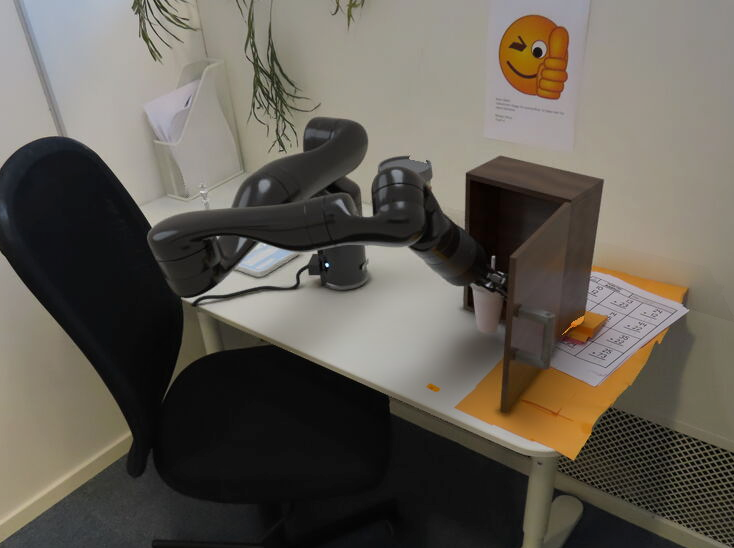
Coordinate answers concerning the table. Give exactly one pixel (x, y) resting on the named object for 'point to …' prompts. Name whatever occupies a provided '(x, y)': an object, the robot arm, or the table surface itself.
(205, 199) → the chess piece
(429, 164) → the reusable coffee cup
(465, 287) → the cupboard
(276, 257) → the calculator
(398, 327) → the table surface
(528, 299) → the cupboard door
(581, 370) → the table surface
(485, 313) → the smoothie
